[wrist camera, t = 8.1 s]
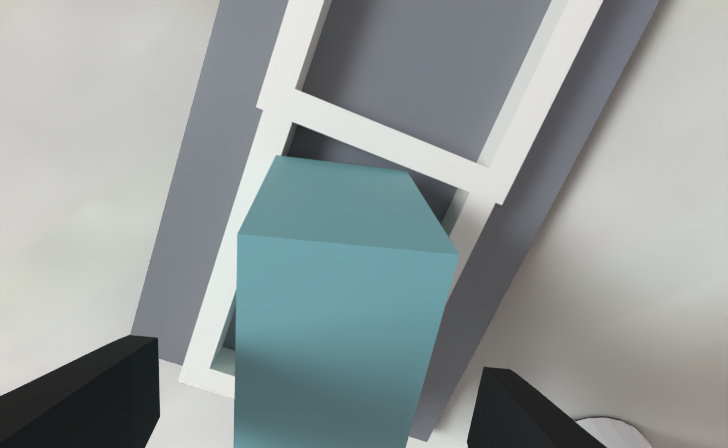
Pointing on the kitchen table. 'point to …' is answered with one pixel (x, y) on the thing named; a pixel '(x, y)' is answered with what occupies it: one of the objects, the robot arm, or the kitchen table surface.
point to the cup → (614, 433)
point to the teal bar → (336, 306)
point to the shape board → (383, 146)
